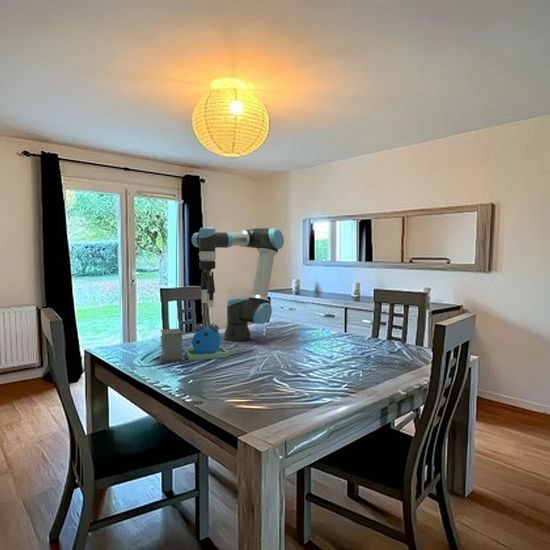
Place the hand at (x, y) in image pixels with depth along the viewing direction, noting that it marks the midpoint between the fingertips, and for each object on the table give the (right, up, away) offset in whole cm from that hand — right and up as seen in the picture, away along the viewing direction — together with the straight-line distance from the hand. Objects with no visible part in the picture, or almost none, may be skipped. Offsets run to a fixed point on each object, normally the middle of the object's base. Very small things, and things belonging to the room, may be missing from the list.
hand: (207, 305), depth 195 cm
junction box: (-16, -25, -5) cm, 30 cm away
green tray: (-1, -25, +1) cm, 25 cm away
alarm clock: (-1, -24, +1) cm, 24 cm away
